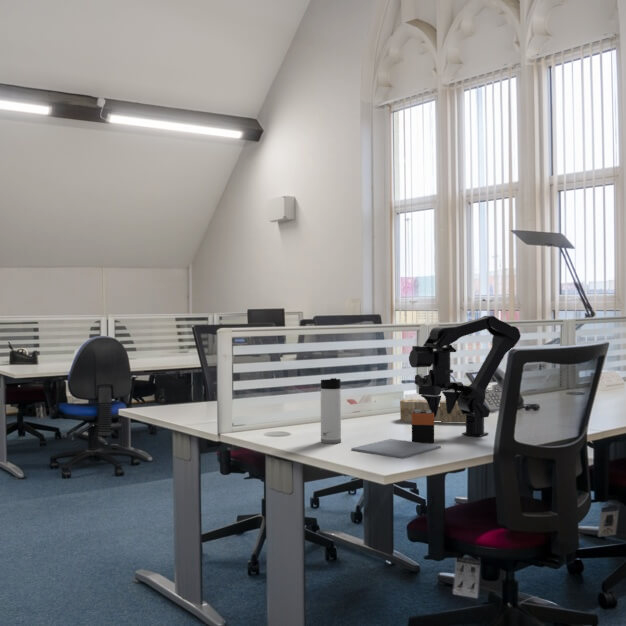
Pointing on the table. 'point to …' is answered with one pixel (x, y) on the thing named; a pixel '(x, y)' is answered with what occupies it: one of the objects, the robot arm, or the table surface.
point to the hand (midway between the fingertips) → (441, 415)
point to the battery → (423, 426)
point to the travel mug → (331, 411)
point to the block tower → (442, 414)
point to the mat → (396, 448)
